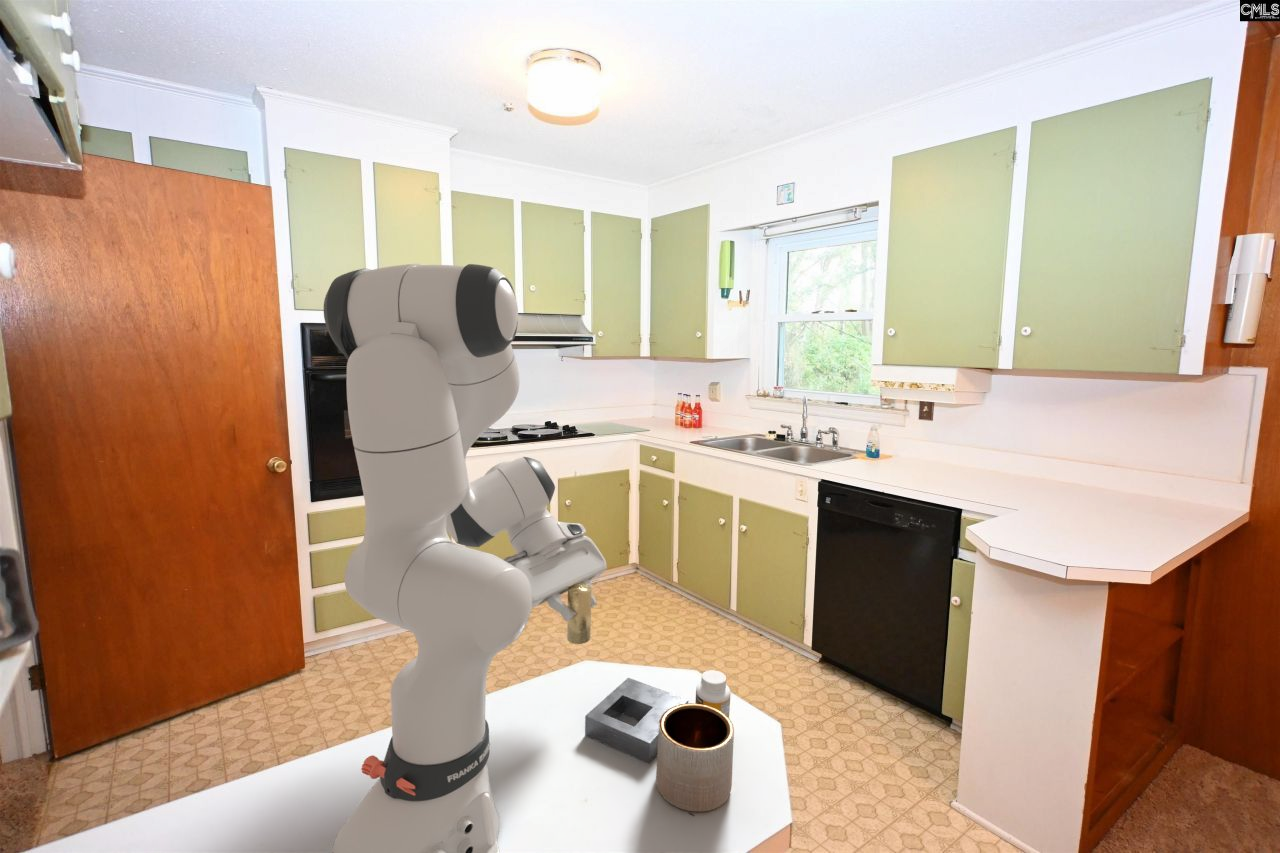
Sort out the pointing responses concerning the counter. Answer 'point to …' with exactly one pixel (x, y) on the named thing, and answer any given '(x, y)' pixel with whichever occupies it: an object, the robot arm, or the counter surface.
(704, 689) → the supplement bottle
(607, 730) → the jig plate
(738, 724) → the counter surface
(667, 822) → the counter surface
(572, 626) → the gold round-topped cylinder
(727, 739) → the planter
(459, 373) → the robot arm
